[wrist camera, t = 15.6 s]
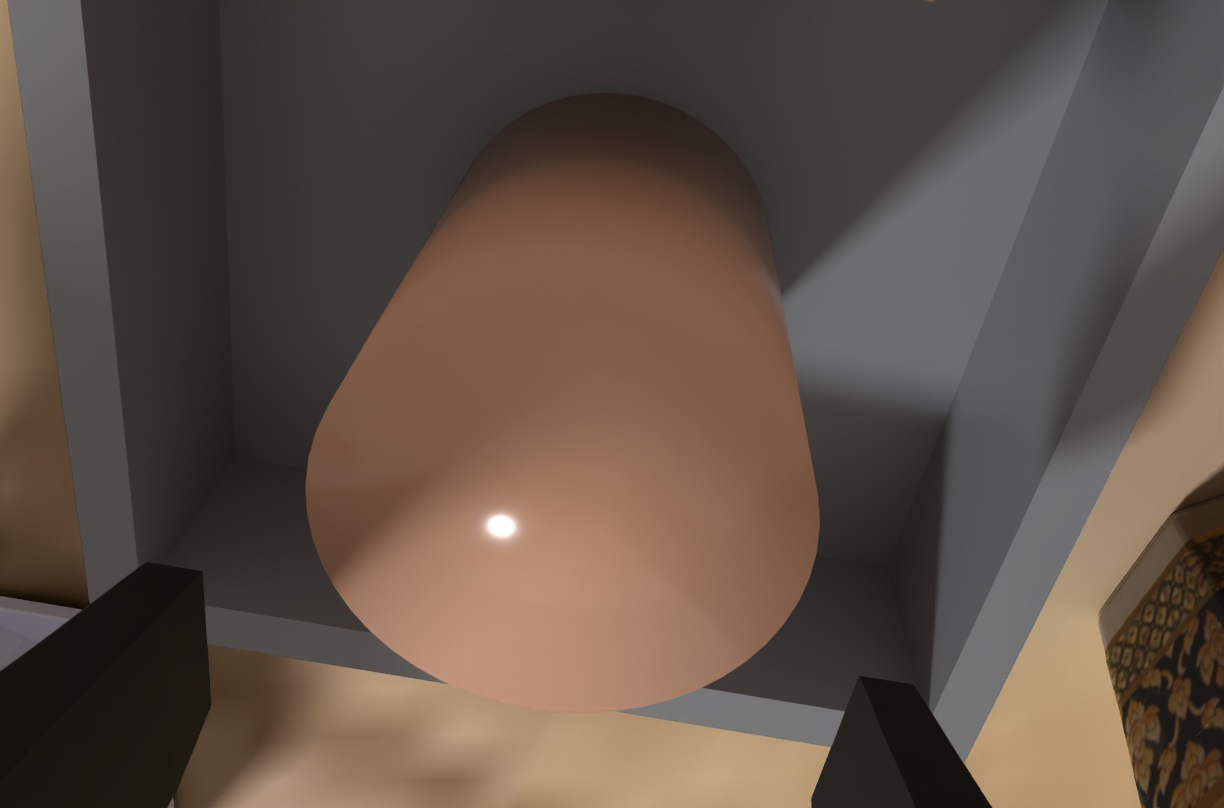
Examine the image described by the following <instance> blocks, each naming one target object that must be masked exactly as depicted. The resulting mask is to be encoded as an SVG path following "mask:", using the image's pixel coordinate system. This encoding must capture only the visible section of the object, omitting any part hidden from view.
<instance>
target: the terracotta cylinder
mask: <svg viewBox="0 0 1224 808" xmlns="http://www.w3.org/2000/svg"><path fill="white" fill-rule="evenodd" d="M305 486H306V505H307V515H308V520H309V524H310V529H311V534H312V538H313V541H314V544H315V547H316V549H317V552H318V555H319V557H320V560H321V563H322V565H323V567H324V569H325V570H326V572H327V574H328V576H329V578H330V580H331V582H332V583H333V585H334V587H335V589H336V590H337V592H338V593H339V594H340V596H341V597H342V598H343V600H344V601H345V603H346V604H347V605H348V607H349V608H350V610H351V611H352V612H353V613H354V614H355V615H356V616H357V617H358V618H359V620H360V621H361V622H362V623H363V624H364V625H365V626H366V627H367V628H368V629H369V630H370V631H371V632H372V633H373V634H374V635H375V636H376V637H378V638H379V639H380V640H381V641H382V642H383V643H384V644H386V645H387V646H388V647H389V648H390V649H391V650H393V651H394V652H396V653H397V654H398V655H400V656H401V657H403V658H404V659H406V660H407V661H409V662H410V663H411V664H413V665H414V666H416V667H418V668H419V669H421V670H423V671H425V672H427V673H428V674H430V675H432V676H434V677H436V678H437V679H439V680H441V681H443V682H446V683H448V684H450V685H452V686H455V687H457V688H459V689H462V690H464V691H466V692H469V693H472V694H475V695H478V696H481V697H484V698H487V699H490V700H493V701H497V702H501V703H505V704H510V705H514V706H519V707H523V708H529V709H537V710H544V711H552V712H571V713H594V712H611V711H620V710H626V709H633V708H639V707H645V706H648V705H652V704H656V703H660V702H664V701H668V700H671V699H674V698H677V697H679V696H682V695H685V694H687V693H690V692H693V691H695V690H698V689H700V688H702V687H704V686H706V685H708V684H710V683H712V682H714V681H716V680H718V679H720V678H722V677H723V676H725V675H726V674H728V673H730V672H731V671H733V670H734V669H736V668H737V667H739V666H740V665H742V664H743V663H745V662H746V661H747V660H748V659H749V658H751V657H752V656H753V655H754V654H755V653H756V652H758V651H759V650H760V649H761V648H762V647H763V646H765V645H766V644H767V643H768V642H769V640H770V639H771V638H772V637H773V636H774V635H775V634H776V632H777V631H778V630H779V629H780V628H781V627H782V626H783V625H784V623H785V622H786V620H787V619H788V617H789V616H790V614H791V613H792V611H793V610H794V608H795V606H796V605H797V603H798V602H799V600H800V598H801V596H802V593H803V591H804V589H805V587H806V585H807V582H808V580H809V578H810V575H811V571H812V568H813V564H814V560H815V557H816V553H817V546H818V537H819V527H820V519H819V503H818V493H817V488H816V482H815V477H814V471H813V466H812V460H811V455H810V449H809V444H808V438H807V433H806V427H805V422H804V416H803V411H802V406H801V400H800V395H799V389H798V384H797V378H796V373H795V367H794V362H793V356H792V351H791V345H790V340H789V334H788V329H787V324H786V318H785V313H784V307H783V302H782V296H781V291H780V285H779V280H778V274H777V269H776V263H775V258H774V252H773V247H772V242H771V236H770V231H769V225H768V221H767V216H766V212H765V207H764V204H763V202H762V199H761V196H760V194H759V191H758V189H757V186H756V184H755V183H754V181H753V179H752V177H751V175H750V173H749V172H748V170H747V168H746V167H745V165H744V164H743V163H742V161H741V160H740V159H739V157H738V156H737V155H736V153H735V152H734V151H733V150H732V149H731V148H730V147H729V146H728V145H727V144H726V143H725V142H724V141H723V140H722V138H721V137H720V136H719V135H717V134H716V133H715V132H713V131H712V130H711V129H710V128H708V127H707V126H706V125H704V124H703V123H702V122H700V121H699V120H697V119H695V118H693V117H692V116H690V115H688V114H687V113H685V112H683V111H681V110H679V109H676V108H674V107H672V106H669V105H667V104H664V103H662V102H659V101H655V100H652V99H648V98H644V97H640V96H634V95H627V94H619V93H592V94H584V95H577V96H571V97H567V98H563V99H560V100H556V101H553V102H549V103H547V104H545V105H542V106H540V107H538V108H535V109H533V110H531V111H529V112H527V113H526V114H524V115H522V116H521V117H519V118H517V119H516V120H514V121H512V122H511V123H510V124H508V125H507V126H506V127H505V128H504V129H502V130H501V131H500V132H499V133H497V134H496V135H495V136H494V137H493V138H492V139H491V140H490V141H489V142H488V144H487V145H486V146H485V147H484V148H483V149H482V150H481V151H480V153H479V154H478V156H477V157H476V158H475V160H474V161H473V163H472V164H471V166H470V167H469V169H468V170H467V172H466V174H465V176H464V177H463V179H462V181H461V182H460V184H459V186H458V187H457V189H456V191H455V192H454V194H453V196H452V197H451V199H450V201H449V203H448V204H447V206H446V208H445V209H444V211H443V213H442V214H441V216H440V218H439V219H438V221H437V223H436V225H435V226H434V228H433V230H432V231H431V233H430V235H429V236H428V238H427V240H426V241H425V243H424V245H423V246H422V248H421V250H420V252H419V253H418V255H417V257H416V258H415V260H414V262H413V263H412V265H411V267H410V268H409V270H408V272H407V273H406V275H405V277H404V279H403V280H402V282H401V284H400V285H399V287H398V289H397V290H396V292H395V294H394V295H393V297H392V299H391V301H390V302H389V304H388V306H387V307H386V309H385V311H384V312H383V314H382V316H381V317H380V319H379V321H378V322H377V324H376V326H375V328H374V329H373V331H372V333H371V334H370V336H369V338H368V339H367V341H366V343H365V344H364V346H363V348H362V349H361V351H360V353H359V355H358V356H357V358H356V360H355V361H354V363H353V365H352V366H351V368H350V370H349V371H348V373H347V375H346V377H345V378H344V380H343V382H342V383H341V385H340V387H339V388H338V390H337V392H336V393H335V395H334V397H333V398H332V400H331V402H330V404H329V405H328V407H327V409H326V411H325V414H324V416H323V418H322V420H321V422H320V424H319V426H318V428H317V430H316V433H315V437H314V440H313V444H312V447H311V451H310V454H309V458H308V467H307V476H306V485H305Z"/></svg>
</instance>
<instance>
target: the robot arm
mask: <svg viewBox="0 0 1224 808" xmlns="http://www.w3.org/2000/svg"><path fill="white" fill-rule="evenodd" d="M210 706H211V694H210V678H209V662H208V646H207V630H206V615H205V599H204V583H203V571H199V570H193V569H187V568H181V567H174V566H168V565H162V564H156V563H149V562H146V563H144V564H143V565H141V566H140V567H138V568H137V569H136V570H134V571H133V572H132V573H130V574H129V575H127V576H126V577H125V578H123V579H122V580H121V581H119V582H118V583H117V584H115V585H114V586H113V587H111V588H110V589H109V590H107V591H106V592H105V593H104V594H102V595H101V596H100V597H98V598H97V599H96V600H94V601H93V602H92V603H90V604H89V605H88V606H87V607H85V608H84V609H83V610H82V609H76V608H69V607H63V606H57V605H51V604H45V603H39V602H33V601H27V600H21V599H15V598H9V597H3V596H0V808H174V800H173V797H174V795H175V793H176V790H177V788H178V786H179V783H180V781H181V778H182V776H183V774H184V771H185V769H186V766H187V764H188V762H189V759H190V757H191V755H192V752H193V750H194V747H195V745H196V742H197V739H198V737H199V734H200V732H201V729H202V727H203V724H204V722H205V719H206V717H207V714H208V711H209V709H210ZM811 802H812V808H992V806H991V805H990V803H989V802H988V800H987V799H986V797H985V796H984V794H983V793H982V791H981V790H980V788H979V786H978V785H977V783H976V782H975V780H974V779H973V777H972V775H971V774H970V772H969V771H968V769H967V768H966V766H965V765H964V763H963V761H962V760H961V758H960V757H959V755H958V753H957V752H956V750H955V749H954V747H953V745H952V744H951V742H950V741H949V739H948V737H947V736H946V734H945V733H944V731H943V729H942V728H941V726H940V725H939V723H938V721H937V720H936V718H935V717H934V715H933V714H932V712H931V710H930V709H929V707H928V706H927V704H926V702H925V701H924V699H923V698H922V696H921V695H920V693H919V692H918V690H917V689H916V687H915V686H914V684H908V683H902V682H896V681H889V680H883V679H877V678H870V677H864V676H859V677H858V679H857V682H856V685H855V687H854V690H853V692H852V695H851V698H850V700H849V703H848V705H847V708H846V710H845V713H844V716H843V718H842V721H841V723H840V726H839V728H838V731H837V734H836V736H835V739H834V741H833V744H832V746H831V749H830V752H829V754H828V757H827V759H826V762H825V764H824V767H823V770H822V772H821V775H820V777H819V780H818V783H817V785H816V788H815V790H814V793H813V795H812V798H811Z"/></svg>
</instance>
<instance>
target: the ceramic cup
mask: <svg viewBox="0 0 1224 808" xmlns="http://www.w3.org/2000/svg"><path fill="white" fill-rule="evenodd" d="M1098 623H1099V630H1100V633H1101V637H1102V641H1103V645H1104V649H1105V653H1106V662H1107V666H1108V670H1109V674H1110V677H1111V681H1112V685H1113V689H1114V692H1115V696H1116V700H1117V703H1118V707H1119V711H1120V715H1121V720H1122V724H1123V729H1124V733H1125V737H1126V742H1127V746H1128V751H1129V755H1130V759H1131V764H1132V768H1133V773H1134V777H1135V781H1136V786H1137V790H1138V795H1139V799H1140V803H1141V808H1224V496H1221V497H1218V498H1215V499H1212V500H1209V501H1206V502H1203V503H1200V504H1197V505H1194V506H1191V507H1188V508H1185V509H1182V510H1179V511H1177V512H1175V513H1174V514H1172V515H1171V516H1170V517H1169V518H1168V519H1167V521H1166V522H1165V523H1164V525H1163V526H1162V527H1161V528H1160V530H1159V531H1158V533H1157V534H1156V535H1155V537H1154V538H1153V539H1152V541H1151V542H1150V543H1149V545H1148V546H1147V547H1146V549H1145V550H1144V552H1143V553H1142V554H1141V556H1140V557H1139V558H1138V560H1137V561H1136V562H1135V564H1134V565H1133V566H1132V568H1131V569H1130V571H1129V572H1128V573H1127V575H1126V576H1125V577H1124V579H1123V580H1122V581H1121V583H1120V584H1119V585H1118V587H1117V588H1116V590H1115V591H1114V592H1113V594H1112V595H1111V596H1110V598H1109V599H1108V600H1107V602H1106V603H1105V605H1104V606H1103V608H1102V609H1101V611H1100V612H1099V622H1098Z"/></svg>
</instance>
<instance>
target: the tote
mask: <svg viewBox="0 0 1224 808" xmlns="http://www.w3.org/2000/svg"><path fill="white" fill-rule="evenodd" d="M7 2H8V9H9V17H10V24H11V31H12V39H13V46H14V53H15V61H16V68H17V75H18V82H19V90H20V97H21V104H22V112H23V119H24V126H25V134H26V141H27V148H28V156H29V163H30V170H31V178H32V185H33V192H34V200H35V207H36V214H37V222H38V229H39V236H40V244H41V251H42V258H43V266H44V273H45V280H46V288H47V295H48V302H49V310H50V317H51V324H52V332H53V339H54V346H55V353H56V361H57V368H58V375H59V383H60V390H61V397H62V405H63V412H64V419H65V427H66V434H67V441H68V449H69V456H70V463H71V471H72V478H73V485H74V493H75V500H76V507H77V515H78V522H79V529H80V537H81V544H82V551H83V559H84V566H85V573H86V581H87V588H88V595H89V603H92V602H93V601H94V600H96V599H97V598H98V597H100V596H101V595H102V594H104V593H105V592H106V591H107V590H109V589H110V588H111V587H113V586H114V585H115V584H117V583H118V582H119V581H121V580H122V579H123V578H125V577H126V576H127V575H129V574H130V573H132V572H133V571H134V570H136V569H137V568H138V567H140V566H141V565H143V564H144V563H146V562H149V563H156V564H162V565H168V566H174V567H181V568H187V569H193V570H199V571H203V583H204V599H205V615H206V630H207V644H209V645H215V646H221V647H228V648H234V649H240V650H246V651H252V652H258V653H264V654H270V655H276V656H282V657H288V658H294V659H300V660H306V661H312V662H318V663H325V664H331V665H337V666H343V667H349V668H355V669H361V670H367V671H373V672H379V673H385V674H391V675H397V676H403V677H409V678H415V679H422V680H428V681H434V682H440V683H446V682H443V681H441V680H439V679H437V678H436V677H434V676H432V675H430V674H428V673H427V672H425V671H423V670H421V669H419V668H418V667H416V666H414V665H413V664H411V663H410V662H409V661H407V660H406V659H404V658H403V657H401V656H400V655H398V654H397V653H396V652H394V651H393V650H391V649H390V648H389V647H388V646H387V645H386V644H384V643H383V642H382V641H381V640H380V639H379V638H378V637H376V636H375V635H374V634H373V633H372V632H371V631H370V630H369V629H368V628H367V627H366V626H365V625H364V624H363V623H362V622H361V621H360V620H359V618H358V617H357V616H356V615H355V614H354V613H353V612H352V611H351V610H350V608H349V607H348V605H347V604H346V603H345V601H344V600H343V598H342V597H341V596H340V594H339V593H338V592H337V590H336V589H335V587H334V585H333V583H332V582H331V580H330V578H329V576H328V574H327V572H326V570H325V569H324V567H323V565H322V563H321V560H320V557H319V555H318V552H317V549H316V547H315V544H314V541H313V538H312V534H311V529H310V524H309V520H308V515H307V505H306V486H305V485H306V476H307V467H308V458H309V454H310V451H311V447H312V444H313V440H314V437H315V433H316V430H317V428H318V426H319V424H320V422H321V420H322V418H323V416H324V414H325V411H326V409H327V407H328V405H329V404H330V402H331V400H332V398H333V397H334V395H335V393H336V392H337V390H338V388H339V387H340V385H341V383H342V382H343V380H344V378H345V377H346V375H347V373H348V371H349V370H350V368H351V366H352V365H353V363H354V361H355V360H356V358H357V356H358V355H359V353H360V351H361V349H362V348H363V346H364V344H365V343H366V341H367V339H368V338H369V336H370V334H371V333H372V331H373V329H374V328H375V326H376V324H377V322H378V321H379V319H380V317H381V316H382V314H383V312H384V311H385V309H386V307H387V306H388V304H389V302H390V301H391V299H392V297H393V295H394V294H395V292H396V290H397V289H398V287H399V285H400V284H401V282H402V280H403V279H404V277H405V275H406V273H407V272H408V270H409V268H410V267H411V265H412V263H413V262H414V260H415V258H416V257H417V255H418V253H419V252H420V250H421V248H422V246H423V245H424V243H425V241H426V240H427V238H428V236H429V235H430V233H431V231H432V230H433V228H434V226H435V225H436V223H437V221H438V219H439V218H440V216H441V214H442V213H443V211H444V209H445V208H446V206H447V204H448V203H449V201H450V199H451V197H452V196H453V194H454V192H455V191H456V189H457V187H458V186H459V184H460V182H461V181H462V179H463V177H464V176H465V174H466V172H467V170H468V169H469V167H470V166H471V164H472V163H473V161H474V160H475V158H476V157H477V156H478V154H479V153H480V151H481V150H482V149H483V148H484V147H485V146H486V145H487V144H488V142H489V141H490V140H491V139H492V138H493V137H494V136H495V135H496V134H497V133H499V132H500V131H501V130H502V129H504V128H505V127H506V126H507V125H508V124H510V123H511V122H512V121H514V120H516V119H517V118H519V117H521V116H522V115H524V114H526V113H527V112H529V111H531V110H533V109H535V108H538V107H540V106H542V105H545V104H547V103H549V102H553V101H556V100H560V99H563V98H567V97H571V96H577V95H584V94H592V93H619V94H627V95H634V96H640V97H644V98H648V99H652V100H655V101H659V102H662V103H664V104H667V105H669V106H672V107H674V108H676V109H679V110H681V111H683V112H685V113H687V114H688V115H690V116H692V117H693V118H695V119H697V120H699V121H700V122H702V123H703V124H704V125H706V126H707V127H708V128H710V129H711V130H712V131H713V132H715V133H716V134H717V135H719V136H720V137H721V138H722V140H723V141H724V142H725V143H726V144H727V145H728V146H729V147H730V148H731V149H732V150H733V151H734V152H735V153H736V155H737V156H738V157H739V159H740V160H741V161H742V163H743V164H744V165H745V167H746V168H747V170H748V172H749V173H750V175H751V177H752V179H753V181H754V183H755V184H756V186H757V189H758V191H759V194H760V196H761V199H762V202H763V204H764V207H765V212H766V216H767V221H768V225H769V231H770V236H771V242H772V247H773V252H774V258H775V263H776V269H777V274H778V280H779V285H780V291H781V296H782V302H783V307H784V313H785V318H786V324H787V329H788V334H789V340H790V345H791V351H792V356H793V362H794V367H795V373H796V378H797V384H798V389H799V395H800V400H801V406H802V411H803V416H804V422H805V427H806V433H807V438H808V444H809V449H810V455H811V460H812V466H813V471H814V477H815V482H816V488H817V493H818V503H819V519H820V527H819V537H818V546H817V553H816V557H815V560H814V564H813V568H812V571H811V575H810V578H809V580H808V582H807V585H806V587H805V589H804V591H803V593H802V596H801V598H800V600H799V602H798V603H797V605H796V606H795V608H794V610H793V611H792V613H791V614H790V616H789V617H788V619H787V620H786V622H785V623H784V625H783V626H782V627H781V628H780V629H779V630H778V631H777V632H776V634H775V635H774V636H773V637H772V638H771V639H770V640H769V642H768V643H767V644H766V645H765V646H763V647H762V648H761V649H760V650H759V651H758V652H756V653H755V654H754V655H753V656H752V657H751V658H749V659H748V660H747V661H746V662H745V663H743V664H742V665H740V666H739V667H737V668H736V669H734V670H733V671H731V672H730V673H728V674H726V675H725V676H723V677H722V678H720V679H718V680H716V681H714V682H712V683H710V684H708V685H706V686H704V687H702V688H700V689H698V690H695V691H693V692H690V693H687V694H685V695H682V696H679V697H677V698H674V699H671V700H668V701H664V702H660V703H656V704H652V705H648V706H645V707H639V708H633V709H626V710H620V711H616V712H622V713H628V714H634V715H640V716H646V717H652V718H658V719H664V720H670V721H676V722H682V723H688V724H694V725H700V726H706V727H713V728H719V729H725V730H731V731H737V732H743V733H749V734H755V735H761V736H767V737H773V738H779V739H785V740H791V741H797V742H803V743H810V744H816V745H822V746H828V747H831V746H832V744H833V741H834V739H835V736H836V734H837V731H838V728H839V726H840V723H841V721H842V718H843V716H844V713H845V710H846V708H847V705H848V703H849V700H850V698H851V695H852V692H853V690H854V687H855V685H856V682H857V679H858V677H859V676H864V677H870V678H877V679H883V680H889V681H896V682H902V683H908V684H914V686H915V687H916V689H917V690H918V692H919V693H920V695H921V696H922V698H923V699H924V701H925V702H926V704H927V706H928V707H929V709H930V710H931V712H932V714H933V715H934V717H935V718H936V720H937V721H938V723H939V725H940V726H941V728H942V729H943V731H944V733H945V734H946V736H947V737H948V739H949V741H950V742H951V744H952V745H953V747H954V749H955V750H956V752H957V753H958V755H959V757H960V758H961V760H962V761H963V763H965V761H966V759H967V757H968V755H969V753H970V751H971V749H972V747H973V745H974V743H975V741H976V739H977V737H978V735H979V733H980V731H981V729H982V727H983V725H984V723H985V721H986V719H987V717H988V715H989V713H990V711H991V709H992V707H993V705H994V703H995V701H996V699H997V697H998V695H999V693H1000V691H1001V689H1002V687H1003V685H1004V683H1005V681H1006V679H1007V677H1008V675H1009V673H1010V671H1011V669H1012V667H1013V665H1014V663H1015V661H1016V659H1017V657H1018V655H1019V653H1020V651H1021V649H1022V647H1023V645H1024V643H1025V641H1026V639H1027V638H1028V636H1029V634H1030V632H1031V630H1032V628H1033V626H1034V624H1035V622H1036V620H1037V618H1038V616H1039V614H1040V612H1041V610H1042V608H1043V606H1044V604H1045V602H1046V600H1047V598H1048V596H1049V594H1050V592H1051V590H1052V588H1053V586H1054V584H1055V582H1056V580H1057V578H1058V576H1059V574H1060V572H1061V570H1062V568H1063V566H1064V564H1065V562H1066V560H1067V558H1068V556H1069V554H1070V552H1071V550H1072V548H1073V546H1074V544H1075V542H1076V540H1077V538H1078V536H1079V534H1080V532H1081V530H1082V528H1083V526H1084V524H1085V522H1086V520H1087V518H1088V516H1089V514H1090V512H1091V510H1092V508H1093V506H1094V505H1095V503H1096V501H1097V499H1098V497H1099V495H1100V493H1101V491H1102V489H1103V487H1104V485H1105V483H1106V481H1107V479H1108V477H1109V475H1110V473H1111V471H1112V469H1113V467H1114V465H1115V463H1116V461H1117V459H1118V457H1119V455H1120V453H1121V451H1122V449H1123V447H1124V445H1125V443H1126V441H1127V439H1128V437H1129V435H1130V433H1131V431H1132V429H1133V427H1134V425H1135V423H1136V421H1137V419H1138V417H1139V415H1140V413H1141V411H1142V409H1143V407H1144V405H1145V403H1146V401H1147V399H1148V397H1149V395H1150V393H1151V391H1152V389H1153V387H1154V385H1155V383H1156V381H1157V379H1158V377H1159V375H1160V373H1161V372H1162V370H1163V368H1164V366H1165V364H1166V362H1167V360H1168V358H1169V356H1170V354H1171V352H1172V350H1173V348H1174V346H1175V344H1176V342H1177V340H1178V338H1179V336H1180V334H1181V332H1182V330H1183V328H1184V326H1185V324H1186V322H1187V320H1188V318H1189V316H1190V314H1191V312H1192V310H1193V308H1194V306H1195V304H1196V302H1197V300H1198V298H1199V296H1200V294H1201V292H1202V290H1203V288H1204V286H1205V284H1206V282H1207V280H1208V278H1209V276H1210V274H1211V272H1212V270H1213V268H1214V266H1215V264H1216V262H1217V260H1218V258H1219V256H1220V254H1221V252H1222V250H1223V248H1224V0H934V2H930V1H924V0H7ZM446 684H448V683H446Z"/></svg>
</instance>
